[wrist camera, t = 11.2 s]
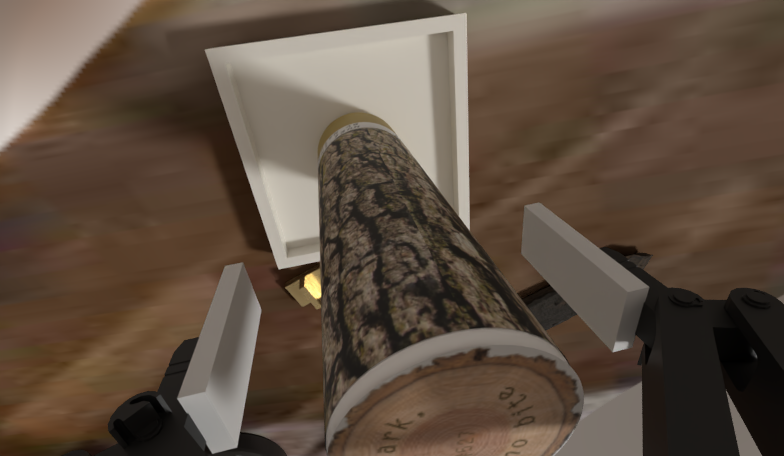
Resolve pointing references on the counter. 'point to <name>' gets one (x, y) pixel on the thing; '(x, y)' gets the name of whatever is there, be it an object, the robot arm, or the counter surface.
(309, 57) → the ceramic dish
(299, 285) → the tan short block
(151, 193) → the counter surface
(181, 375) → the robot arm
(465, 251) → the paper tube
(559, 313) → the wood
